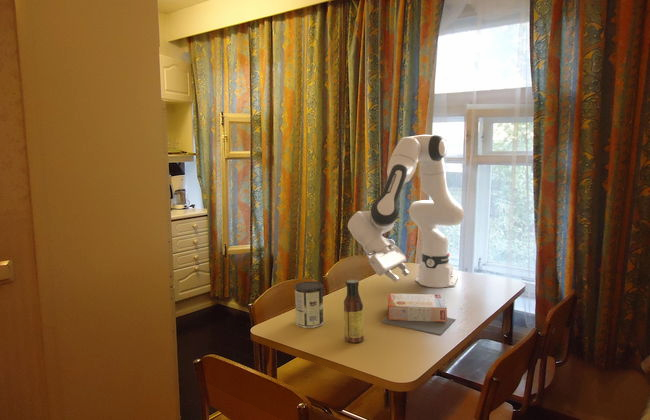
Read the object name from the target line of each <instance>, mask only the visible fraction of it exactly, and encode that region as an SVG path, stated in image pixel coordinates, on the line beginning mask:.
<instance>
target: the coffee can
mask: <svg viewBox="0 0 650 420" xmlns="http://www.w3.org/2000/svg"><path fill="white" fill-rule="evenodd" d="M323 290H324V284H323V283H322V282H319V281H318V282H317V281H302V282H299V283H298V282H297V283H296V284H295V285H294V297H295V298H294V299H295V300H294V302H295V303H294V304H295V325H296V326H297V325H298V326H297V327H299V326H300V327H299V328H302V327H303V329H314V328H315V327H316V328H319V327H321V326H323V324H324V323H325V321H324V297H323V296H324V293H323ZM316 328H315V329H316Z"/></svg>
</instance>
